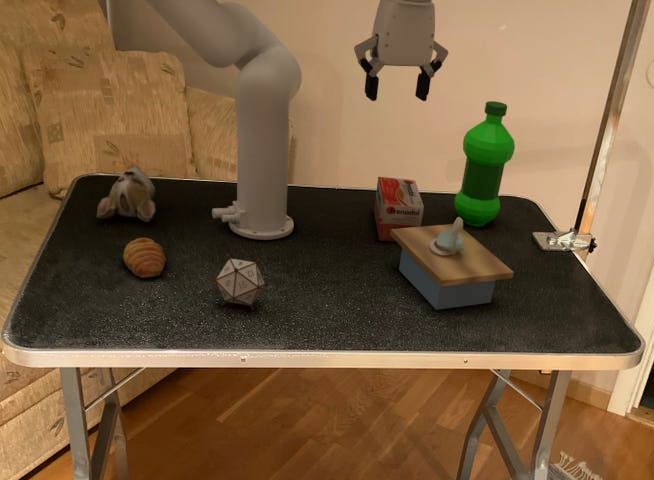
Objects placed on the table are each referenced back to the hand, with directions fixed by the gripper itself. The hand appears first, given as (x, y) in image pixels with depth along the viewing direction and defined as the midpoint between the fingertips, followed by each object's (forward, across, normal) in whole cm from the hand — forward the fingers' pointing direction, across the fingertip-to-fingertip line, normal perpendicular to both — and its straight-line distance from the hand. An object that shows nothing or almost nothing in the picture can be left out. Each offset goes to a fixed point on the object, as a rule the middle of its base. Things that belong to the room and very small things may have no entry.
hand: (396, 98), depth 131 cm
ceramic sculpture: (+29, +43, -22) cm, 56 cm away
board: (+22, -5, +18) cm, 29 cm away
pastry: (+29, +44, 0) cm, 52 cm away
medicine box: (+28, -7, -7) cm, 30 cm away
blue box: (+28, -5, +18) cm, 34 cm away
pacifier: (+21, -4, +18) cm, 28 cm away
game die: (+28, +32, +16) cm, 46 cm away
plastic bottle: (+28, -26, -7) cm, 39 cm away
